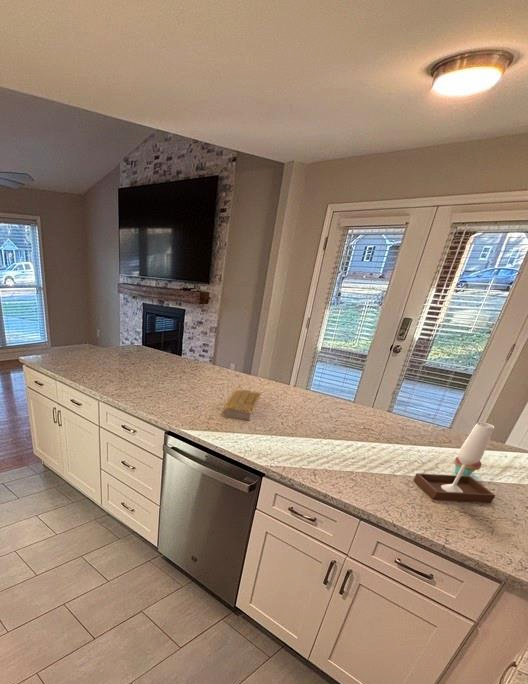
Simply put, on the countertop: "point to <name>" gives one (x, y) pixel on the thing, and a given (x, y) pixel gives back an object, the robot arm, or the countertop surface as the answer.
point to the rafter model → (241, 404)
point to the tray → (466, 483)
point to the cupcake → (468, 469)
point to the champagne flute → (471, 451)
